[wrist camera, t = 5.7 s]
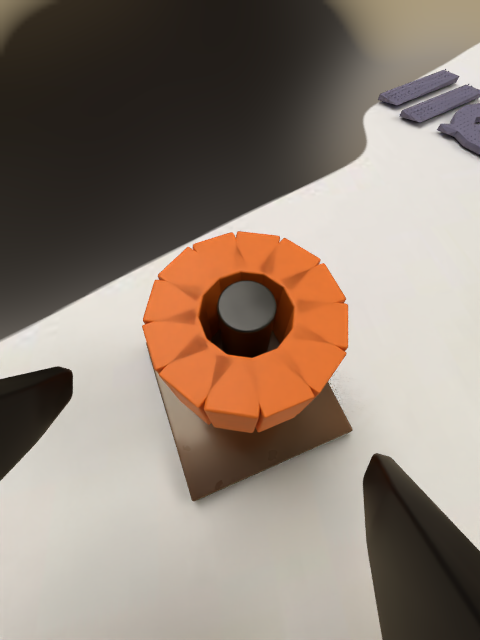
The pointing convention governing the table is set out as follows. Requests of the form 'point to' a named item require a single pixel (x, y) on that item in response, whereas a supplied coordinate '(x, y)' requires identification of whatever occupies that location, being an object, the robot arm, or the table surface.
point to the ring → (236, 371)
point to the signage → (441, 106)
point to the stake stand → (258, 447)
